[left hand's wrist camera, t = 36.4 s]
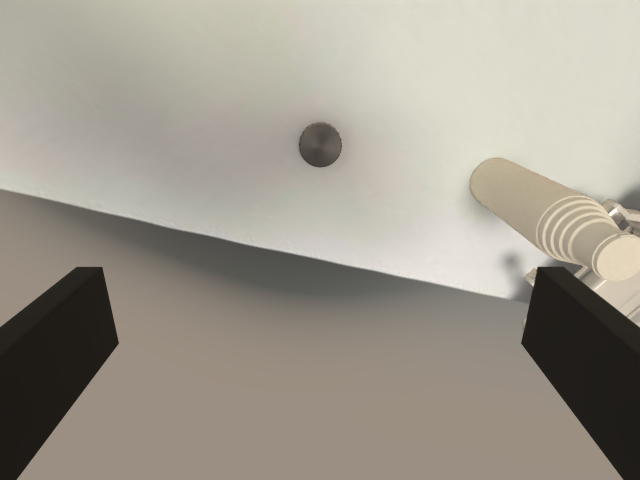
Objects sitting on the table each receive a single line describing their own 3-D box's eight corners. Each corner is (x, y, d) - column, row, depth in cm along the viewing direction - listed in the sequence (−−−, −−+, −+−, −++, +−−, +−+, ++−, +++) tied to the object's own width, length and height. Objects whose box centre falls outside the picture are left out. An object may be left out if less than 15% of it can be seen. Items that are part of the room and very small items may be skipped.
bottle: (516, 200, 46) (657, 290, 27) (470, 206, 47) (576, 300, 27) (518, 154, 45) (671, 215, 25) (469, 161, 45) (584, 227, 25)
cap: (295, 128, 44) (293, 130, 42) (335, 117, 43) (336, 119, 41) (305, 168, 45) (305, 172, 43) (345, 158, 45) (346, 161, 43)
